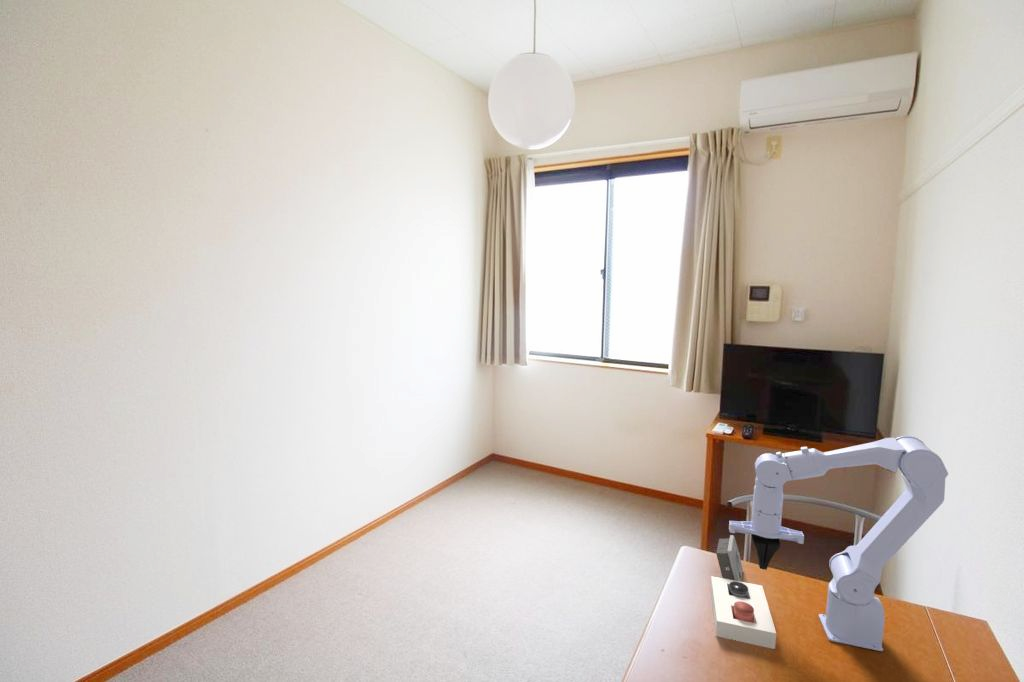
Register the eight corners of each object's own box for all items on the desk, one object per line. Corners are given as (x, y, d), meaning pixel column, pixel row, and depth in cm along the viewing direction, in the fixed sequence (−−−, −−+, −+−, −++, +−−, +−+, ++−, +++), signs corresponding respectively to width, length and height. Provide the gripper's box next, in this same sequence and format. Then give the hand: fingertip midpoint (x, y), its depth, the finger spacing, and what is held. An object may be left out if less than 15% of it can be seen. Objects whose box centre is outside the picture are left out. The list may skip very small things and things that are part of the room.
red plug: (751, 620, 103) (752, 603, 102) (753, 632, 99) (755, 615, 99) (731, 616, 104) (733, 599, 104) (734, 628, 100) (735, 611, 100)
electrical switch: (740, 590, 115) (739, 553, 114) (717, 585, 117) (715, 549, 116) (742, 570, 123) (741, 535, 122) (720, 566, 125) (719, 532, 125)
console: (761, 599, 111) (762, 585, 111) (775, 649, 96) (776, 633, 96) (710, 589, 115) (711, 576, 114) (716, 636, 100) (717, 620, 99)
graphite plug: (745, 599, 110) (746, 583, 110) (748, 609, 107) (749, 593, 106) (727, 595, 112) (728, 580, 111) (729, 606, 108) (730, 590, 108)
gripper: (800, 506, 106) (795, 562, 108) (729, 496, 111) (725, 551, 113) (808, 521, 100) (803, 581, 101) (732, 510, 104) (728, 568, 106)
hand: (762, 566), depth 107 cm, fingers closed
